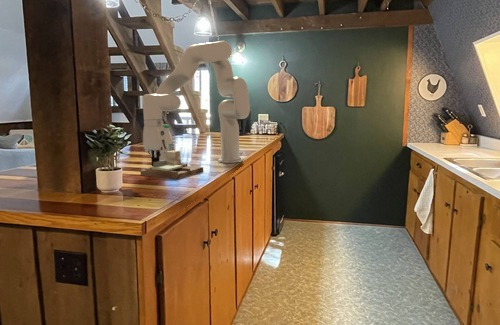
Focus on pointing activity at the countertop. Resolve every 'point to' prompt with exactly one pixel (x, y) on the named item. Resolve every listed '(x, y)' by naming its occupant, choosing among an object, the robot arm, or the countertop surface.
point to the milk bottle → (169, 143)
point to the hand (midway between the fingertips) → (155, 166)
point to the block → (173, 157)
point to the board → (173, 172)
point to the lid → (164, 166)
